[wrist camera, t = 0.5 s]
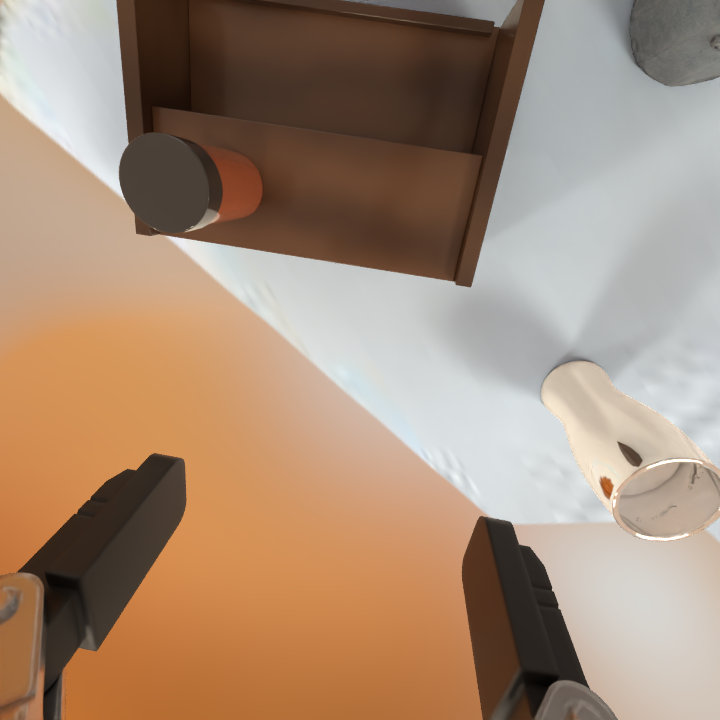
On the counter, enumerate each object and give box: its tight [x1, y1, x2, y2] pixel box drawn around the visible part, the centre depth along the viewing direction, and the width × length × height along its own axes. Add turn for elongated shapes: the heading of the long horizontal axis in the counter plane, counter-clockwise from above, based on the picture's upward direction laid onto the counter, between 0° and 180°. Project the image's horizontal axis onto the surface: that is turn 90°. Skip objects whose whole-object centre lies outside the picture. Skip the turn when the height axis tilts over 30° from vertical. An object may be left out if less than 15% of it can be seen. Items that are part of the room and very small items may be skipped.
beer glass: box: [541, 361, 720, 541], centre depth 31 cm, size 7×7×15 cm
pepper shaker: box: [119, 132, 263, 234], centre depth 22 cm, size 4×4×8 cm
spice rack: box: [116, 0, 545, 287], centre depth 27 cm, size 15×22×10 cm
